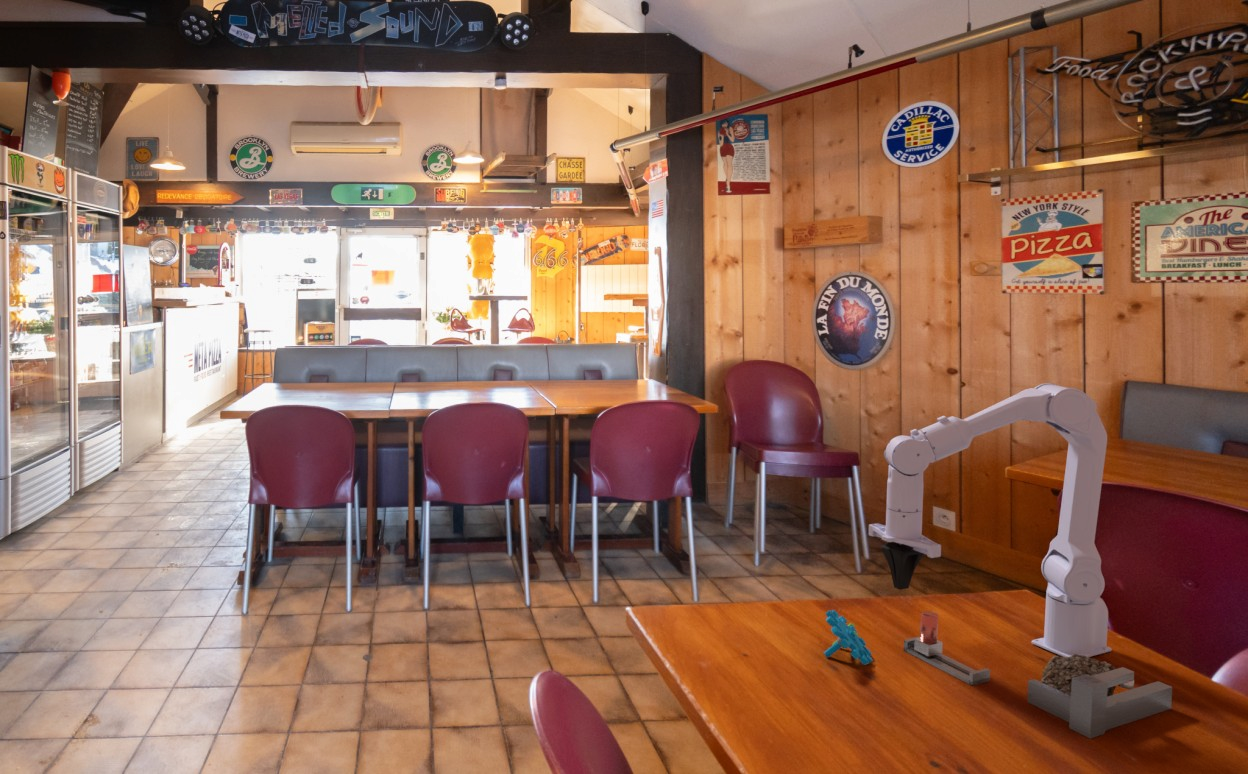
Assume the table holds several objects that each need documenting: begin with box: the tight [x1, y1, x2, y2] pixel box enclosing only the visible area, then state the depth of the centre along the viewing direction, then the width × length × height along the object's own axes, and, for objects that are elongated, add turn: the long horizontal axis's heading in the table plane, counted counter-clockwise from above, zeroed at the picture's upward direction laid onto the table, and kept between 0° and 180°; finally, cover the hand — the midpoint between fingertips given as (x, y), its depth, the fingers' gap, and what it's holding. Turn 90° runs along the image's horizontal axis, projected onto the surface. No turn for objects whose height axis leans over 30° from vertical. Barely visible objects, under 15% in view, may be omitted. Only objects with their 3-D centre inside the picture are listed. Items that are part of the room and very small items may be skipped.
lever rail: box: [903, 636, 991, 686], centre depth 130 cm, size 4×14×2 cm, turn 25°
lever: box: [914, 610, 943, 656], centre depth 132 cm, size 3×3×6 cm
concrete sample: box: [1040, 654, 1117, 697], centre depth 119 cm, size 12×10×5 cm
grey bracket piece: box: [1027, 667, 1174, 739], centre depth 116 cm, size 18×10×7 cm, turn 115°
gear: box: [823, 609, 874, 666], centre depth 132 cm, size 11×6×10 cm
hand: (901, 587), depth 138 cm, fingers closed
